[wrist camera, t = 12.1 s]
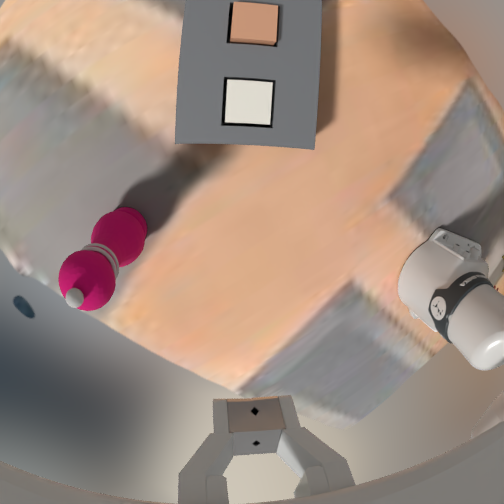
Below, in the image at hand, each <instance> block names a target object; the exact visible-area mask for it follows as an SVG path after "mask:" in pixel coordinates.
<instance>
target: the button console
mask: <svg viewBox="0 0 504 504" xmlns="http://www.w3.org/2000/svg"><path fill="white" fill-rule="evenodd" d="M234 2H247V3H259V4H269V5H277V6H278V18H277V37H276V43H275V44H274V45H273V47H271V46H261V45H249V44H232V43H229V40H230V27H231V16H232V9H233V3H234ZM321 24H322V0H186V3H185V11H184V19H183V28H182V37H181V47H180V58H179V71H178V85H177V103H176V126H175V144H240V145H261V146H276V147H289V148H301V149H311V150H314V148H315V136H316V123H317V109H318V94H319V76H320V55H321ZM227 80H248V81H261V82H273V86H272V102H271V118H270V125H254V124H234V123H224V113H225V96H226V84H227Z"/></svg>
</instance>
